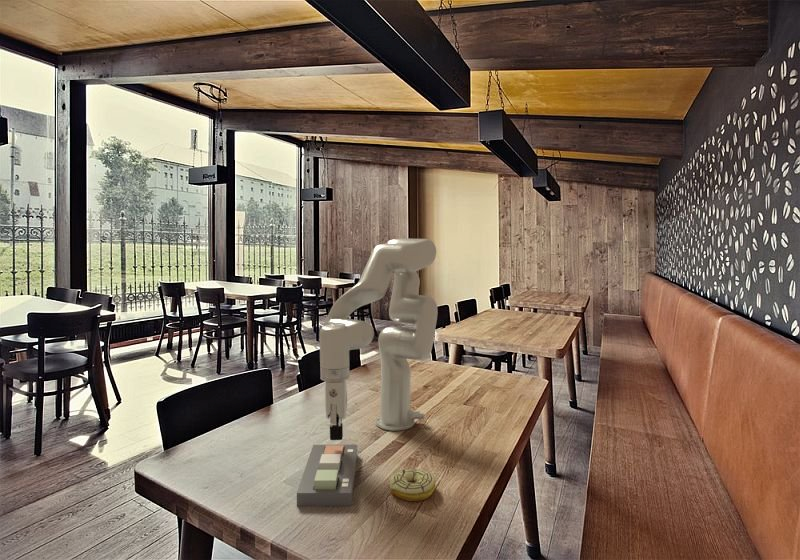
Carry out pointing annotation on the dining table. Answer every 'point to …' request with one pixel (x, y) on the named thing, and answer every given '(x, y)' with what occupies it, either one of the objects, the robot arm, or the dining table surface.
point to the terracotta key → (334, 449)
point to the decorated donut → (412, 484)
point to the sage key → (326, 480)
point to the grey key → (330, 462)
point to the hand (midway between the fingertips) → (336, 438)
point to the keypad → (344, 486)
